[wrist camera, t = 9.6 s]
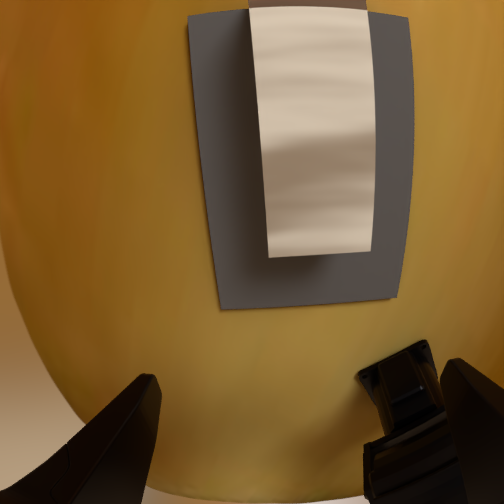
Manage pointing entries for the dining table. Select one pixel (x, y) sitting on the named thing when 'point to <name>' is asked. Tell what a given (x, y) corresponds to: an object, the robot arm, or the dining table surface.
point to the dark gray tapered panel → (251, 172)
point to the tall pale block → (315, 124)
